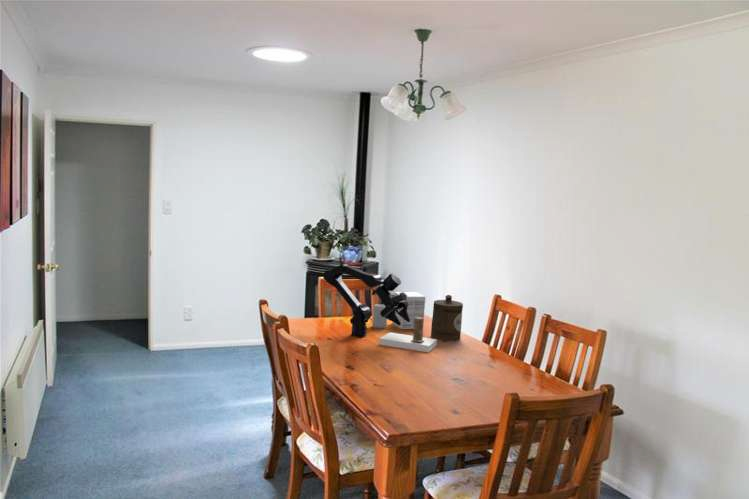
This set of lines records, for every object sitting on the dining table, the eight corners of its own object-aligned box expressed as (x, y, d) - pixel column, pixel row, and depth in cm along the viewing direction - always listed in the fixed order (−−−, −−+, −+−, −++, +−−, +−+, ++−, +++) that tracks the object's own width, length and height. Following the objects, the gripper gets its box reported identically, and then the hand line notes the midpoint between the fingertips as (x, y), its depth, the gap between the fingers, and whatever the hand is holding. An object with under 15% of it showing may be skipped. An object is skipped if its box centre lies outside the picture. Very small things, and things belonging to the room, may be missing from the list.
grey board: (379, 344, 303) (379, 338, 303) (389, 338, 316) (389, 332, 316) (428, 352, 295) (429, 345, 295) (436, 345, 308) (436, 339, 308)
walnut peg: (412, 348, 300) (414, 319, 298) (411, 346, 304) (413, 316, 303) (422, 349, 300) (424, 319, 298) (421, 346, 305) (423, 317, 303)
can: (386, 326, 342) (388, 304, 340) (385, 329, 334) (387, 306, 333) (372, 325, 342) (374, 303, 341) (371, 328, 335) (372, 305, 333)
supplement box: (392, 323, 350) (394, 291, 348) (414, 323, 354) (416, 291, 352) (400, 329, 337) (402, 296, 335) (423, 329, 341) (426, 296, 339)
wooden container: (461, 342, 317) (465, 298, 315) (431, 340, 317) (434, 296, 315) (458, 335, 332) (461, 293, 329) (429, 333, 332) (432, 291, 330)
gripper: (387, 289, 298) (407, 316, 293) (406, 284, 314) (425, 310, 309) (371, 303, 302) (390, 330, 298) (391, 298, 319) (409, 323, 314)
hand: (404, 323), depth 305 cm, fingers open, 9 cm apart
